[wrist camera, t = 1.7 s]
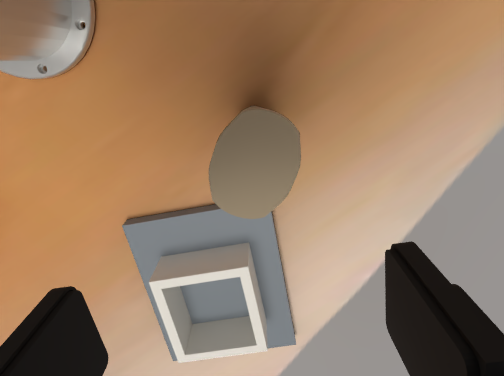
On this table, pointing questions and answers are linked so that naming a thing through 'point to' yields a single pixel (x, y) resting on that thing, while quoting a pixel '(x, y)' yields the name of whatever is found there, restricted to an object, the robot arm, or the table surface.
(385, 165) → the table surface
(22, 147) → the table surface
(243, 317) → the socket
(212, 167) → the handle
